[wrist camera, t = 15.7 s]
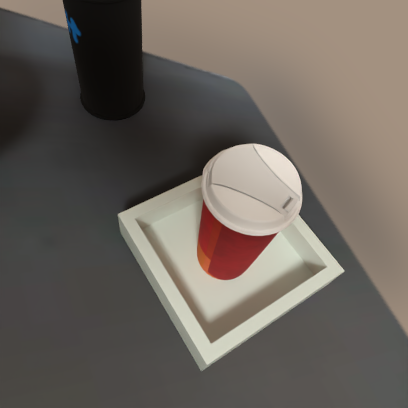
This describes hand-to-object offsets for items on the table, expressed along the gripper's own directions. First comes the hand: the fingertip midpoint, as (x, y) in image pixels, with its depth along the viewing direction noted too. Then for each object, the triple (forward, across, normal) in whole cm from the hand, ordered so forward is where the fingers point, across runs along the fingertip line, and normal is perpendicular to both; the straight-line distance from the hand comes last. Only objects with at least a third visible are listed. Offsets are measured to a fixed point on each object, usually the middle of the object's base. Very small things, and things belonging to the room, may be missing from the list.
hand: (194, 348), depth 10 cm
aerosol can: (+43, -14, +5) cm, 45 cm away
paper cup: (+29, +3, -8) cm, 30 cm away
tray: (+29, +3, -9) cm, 31 cm away
